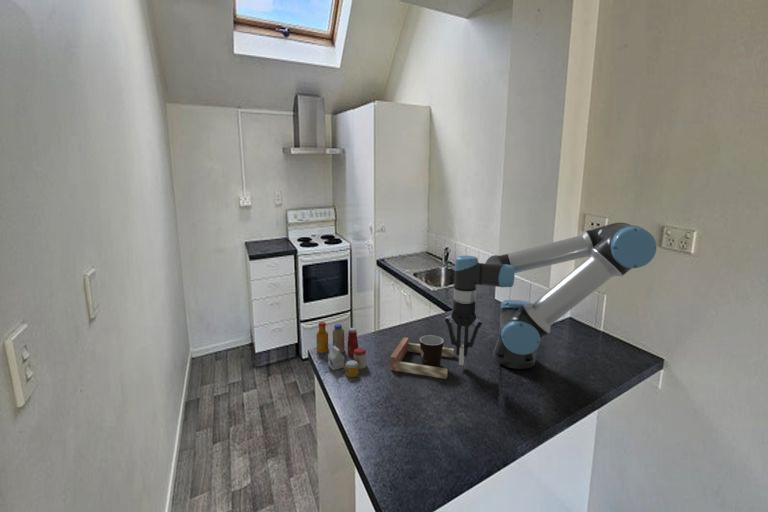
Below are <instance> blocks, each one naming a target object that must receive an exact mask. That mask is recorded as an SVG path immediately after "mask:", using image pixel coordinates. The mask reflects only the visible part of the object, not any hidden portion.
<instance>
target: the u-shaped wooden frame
mask: <svg viewBox="0 0 768 512" xmlns="http://www.w3.org/2000/svg"><path fill="white" fill-rule="evenodd" d="M408 352H409V353H410V352H411V353H417V354H421V348H420V343H413V342H409V337H402V339H401V340H400V342H399V343H398V344H397V346H396V348H395V349H394V351H393V352H392V354H391V356H390V365H389V366H390V371H395V372H400V373H401V372H402V373H407V374H408V373H409V374H414V375H420V376H427V377H433V378H439V379H447V378H448V368H445V367H433V366H427V365H422V364H419V363H414V362H413V363H412V362H407V361H403V359H404V357H405V356H406V354H407V353H408ZM454 353H455V348H452V347H451V348H450V347H444V346H443V349H442V355H441V357H444V358H445V357H446V358H454Z"/></svg>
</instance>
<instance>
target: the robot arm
mask: <svg viewBox="0 0 768 512" xmlns="http://www.w3.org/2000/svg"><path fill="white" fill-rule="evenodd" d="M656 253H657V241H656V239H655V237H654V235H653V234H652V233H651V232H650V231H648V230H647V229H645V228H643V227H641V226H638V225H632V224H630V223H626V222H613V223H609V224H606V225H603V226H599V227H595V228H592V229H589V230H585V231H583V233H582V234H581V235H577V236H573V237H570V238H565V239H561V240H557V241H553V242H548V243H545V244H542V245H537V246H533V247H529V248H525V249H521V250H516V251H513V252H509V253H505V254H501V255H498V254H496V255H495V254H494V255H491V256H489V257H488V258H487V259H486V261H485V263H483V262H482V263H481V262H479V260H478V257H476V256H473V255H459V256H457V257H455V262H454V275H453V279H454V280H453V281H454V283H453V303H452V313H451V314H450V315H449V316H448V315H447V316H446V317H445V319H444V322H445V324H446V325H447V328H448V335H449V338H450V343H451V345H453V346H455V348H456V353H455V355H456V356H459V357H458V365H459V366H464V363H465V357H467V355H468V350H469V348H473V347H474V344H475V340H476V338H477V334H478V331H479V328H481V327H482V325H483V320H482V319H479V318H478V317H477V314H476V299H477V297H476V296H477V286H485V287H486V286H488V287H497V288H512V287H514V284H515V274H518V273H521V272H522V273H523V272H526V271H530V270H535V269H539V268H543V267H549V266H552V265H557V264H560V263H561V264H562V263H565V262H570V261H574V260H578V259H579V260H580V259H583V258H587V257H588V258H587V259H585V260H584V261H583V262H581V263H580V264H579V265H578V266H577V267H576V268H575V269H574V270H573V269H572V271H570V273H568V274H567V275H566V276H565V277H563V278H562V279H561V280H560V281H559V282H558V283H556V284H555V285H554V286H553V287H552V288H550V289H549V290H548V291H547V292H545V294H542V295H541V296H540V298H538V299H537V300H536V301H535V302H533V303H532V302H530V301H525V300H521V299H506V300H504V299H503V301H501V303H500V313H499V314H500V317H499V332H498V333H499V334H498V339H497V341H496V344H495V346H494V349H493V351H492V357H493V360H494V361H495V362H497V363H498V364H499V365H501V366H503V367H506V368H511V369H516V370H525V369H529V368H530V369H531V368H533V366H535V364H536V354H535V351H537V349H539V346H540V345H541V344H540V343H541V341H542V339H544V338H545V337H546V336H548V334H550V333H551V326H553V324H555V323H556V322H557V321H559V319H561V318H562V317H563V316H565V315H566V314H567V313H568V312H569V311H571V310H572V309H573V308H575V307H577V305H578V304H580V303H581V302H582V301H584V300H585V299H586V298H587V297H588V296H590V295H592V294H593V293H594V292H595V291H596V290H598V289H599V288H600V287H601V286H602V285H603V284H605V283H606V282H608V281H609V280H611V278H613V277H623V276H624V275H625V274H627V273H628V272H630V270H632V269H638V268H642V267H645V266H646V265H648V264H649V263H651V262H652V261H653V259H654V258H655V255H656ZM453 321H454V324H456V327H457V328H456V329H457V330H456V334H455V331H454V325H453ZM473 323H474V325H475V326H474V329H473V331H472V336H471V338H470V341H469V335H470V334H469V331H470V326H471V325H473ZM462 327H464V335H463V336H464V337H463V339H464V341H463V344H461V342H462Z"/></svg>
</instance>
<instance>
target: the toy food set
mask: <svg viewBox="0 0 768 512" xmlns="http://www.w3.org/2000/svg"><path fill="white" fill-rule="evenodd" d="M326 326H327V323H326V321H320V322H318V331H317V332H316V352H317V353H319V354H322V353H327V352H328V351H329V332H328V331H327V330H326ZM333 327H334V328H333V330H332V348H331V350H330V351H329V353H328V355H327V363H328V364H327V365H328V367H329V368H330V369H331V370H332V371H337V370H339V369H343V368H345V376H346V377H348V378H355V377H358V376H359V370H363V369H365V368H366V367H367V351H366V349H365V348H363V347H359V344H358V343H359V342H358V333H357V328H356V327H350V328H349V329H348V336H347V337H348V338H347V355H349V356H350V357H351V358H352V359H351V360H348V361H346V363H345V359H346V358H345V355H344V354H343V353H344V352H345V349H346V348H345V329H344V328H342V324H339V323H336V324H335V325H334V326H333Z"/></svg>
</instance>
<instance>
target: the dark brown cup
mask: <svg viewBox="0 0 768 512" xmlns="http://www.w3.org/2000/svg"><path fill="white" fill-rule="evenodd" d="M419 344H420V348H421V353H420V356H421V357H420V358H421V365H427V366H433V367H440V365H441V362H442V361H441V360H442V356H441V355H442V349H443V347H444V338H442V337H441V336H437V335H430V334H428V335H423V336H421V337H419ZM440 368H441V367H440Z"/></svg>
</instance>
